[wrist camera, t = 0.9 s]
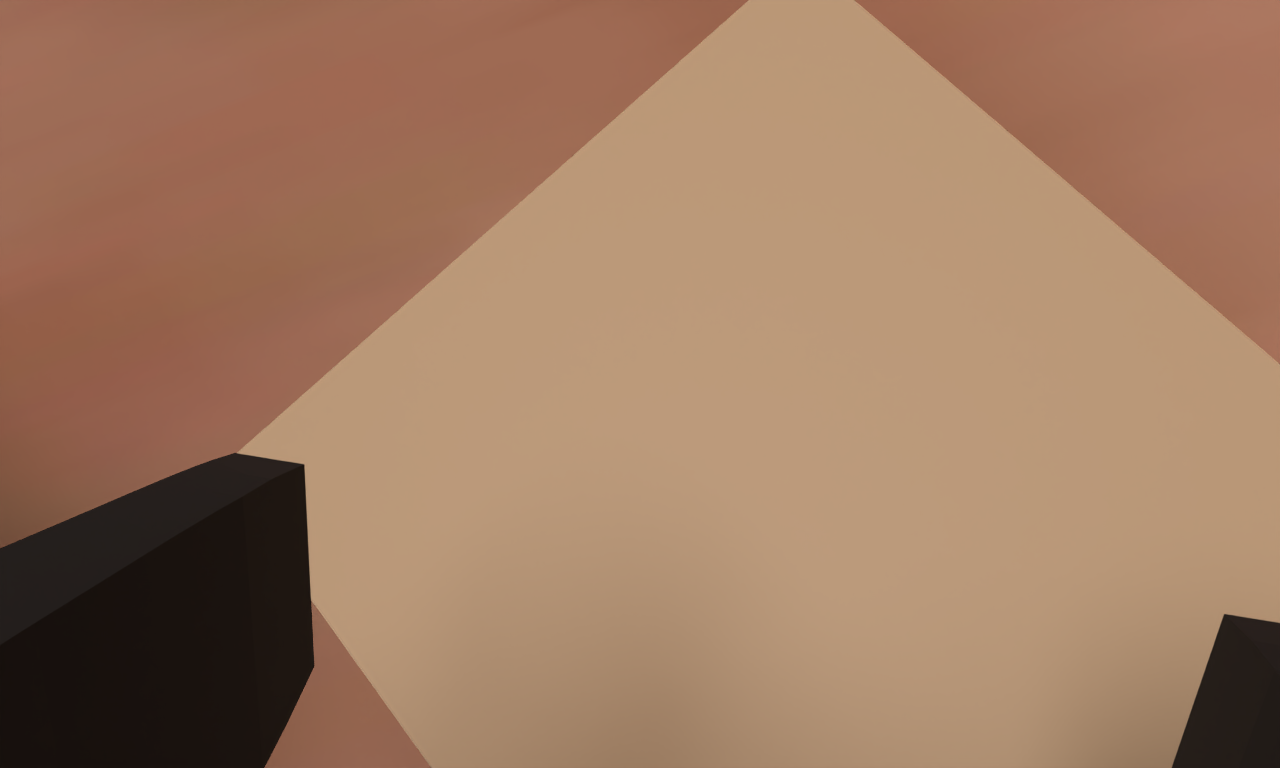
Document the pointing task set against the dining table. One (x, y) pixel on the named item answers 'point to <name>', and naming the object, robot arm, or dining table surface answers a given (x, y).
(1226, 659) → the robot arm
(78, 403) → the dining table surface
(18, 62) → the dining table surface
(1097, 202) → the dining table surface
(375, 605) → the mailer lid
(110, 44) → the dining table surface
